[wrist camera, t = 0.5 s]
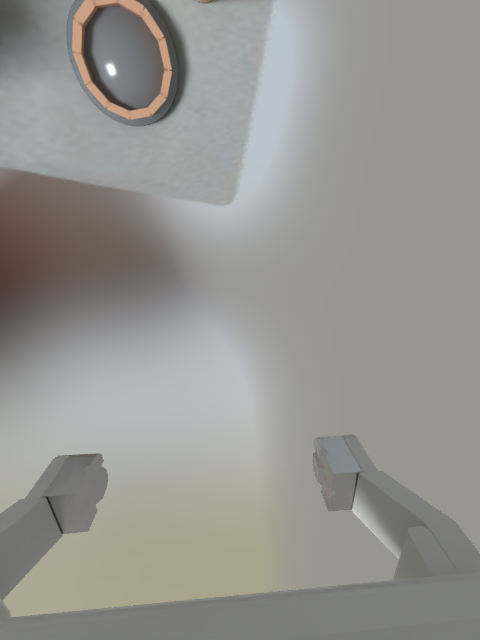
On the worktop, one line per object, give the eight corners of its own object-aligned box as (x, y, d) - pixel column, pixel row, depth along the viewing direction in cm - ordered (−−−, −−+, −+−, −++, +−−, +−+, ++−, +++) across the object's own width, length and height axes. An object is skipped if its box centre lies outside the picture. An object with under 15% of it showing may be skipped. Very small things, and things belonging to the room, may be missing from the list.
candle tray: (46, 48, 35) (39, 45, 33) (115, -54, 31) (111, -63, 29) (135, 147, 43) (133, 149, 41) (198, 76, 39) (199, 75, 37)
